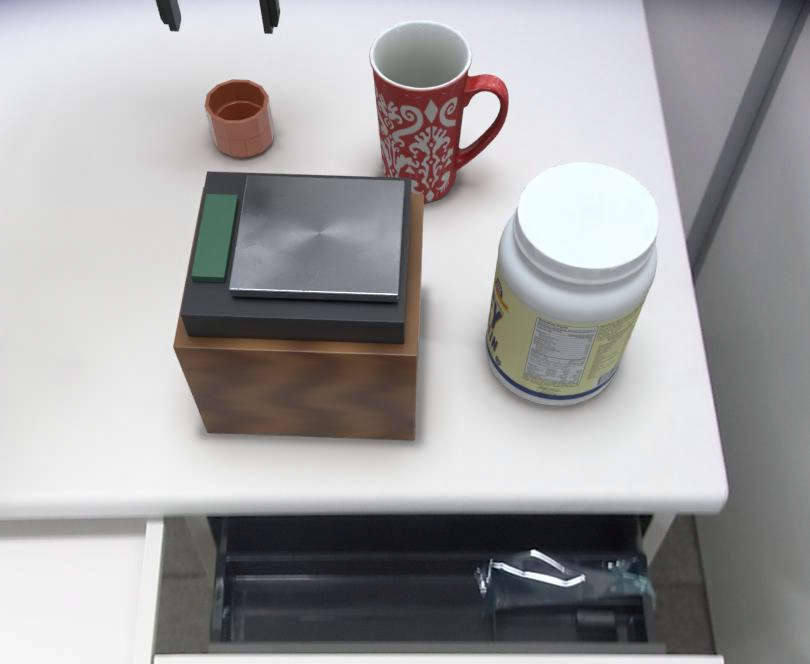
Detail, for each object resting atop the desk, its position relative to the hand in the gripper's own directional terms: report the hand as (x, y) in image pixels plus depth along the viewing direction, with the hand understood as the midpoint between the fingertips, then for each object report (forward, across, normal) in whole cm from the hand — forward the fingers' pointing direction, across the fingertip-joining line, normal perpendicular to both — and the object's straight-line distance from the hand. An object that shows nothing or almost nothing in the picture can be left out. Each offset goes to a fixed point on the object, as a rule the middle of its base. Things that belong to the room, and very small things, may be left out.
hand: (222, 27), depth 76 cm
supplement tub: (+12, -31, +26) cm, 42 cm away
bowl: (+12, 0, 0) cm, 12 cm away
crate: (+12, -10, +28) cm, 32 cm away
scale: (0, -10, +28) cm, 29 cm away
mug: (+12, -20, +5) cm, 24 cm away
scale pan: (-3, -11, +27) cm, 30 cm away
